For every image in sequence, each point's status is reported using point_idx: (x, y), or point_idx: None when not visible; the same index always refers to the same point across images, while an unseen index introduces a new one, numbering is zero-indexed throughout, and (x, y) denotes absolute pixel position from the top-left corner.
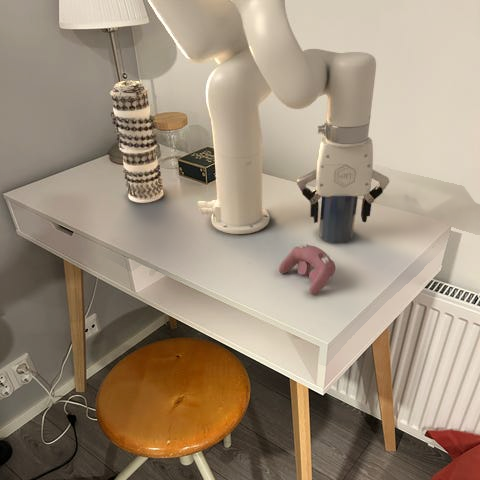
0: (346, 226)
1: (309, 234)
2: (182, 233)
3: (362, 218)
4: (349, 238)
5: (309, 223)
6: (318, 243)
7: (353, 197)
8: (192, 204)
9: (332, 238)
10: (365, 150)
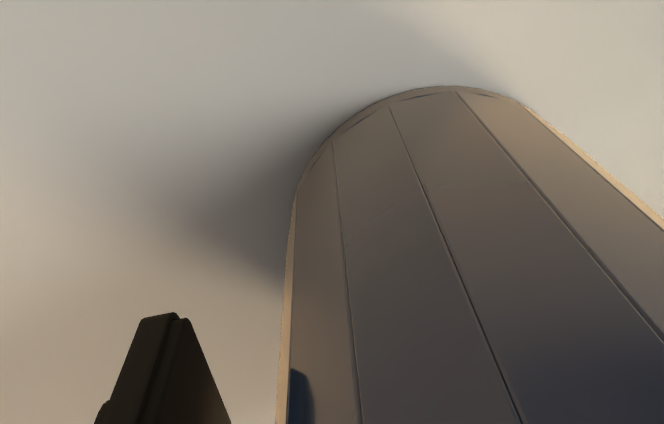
0: (358, 192)
1: (657, 196)
2: None
3: (190, 354)
4: (307, 175)
5: None
6: (587, 57)
7: None
8: None
9: (473, 98)
10: None
